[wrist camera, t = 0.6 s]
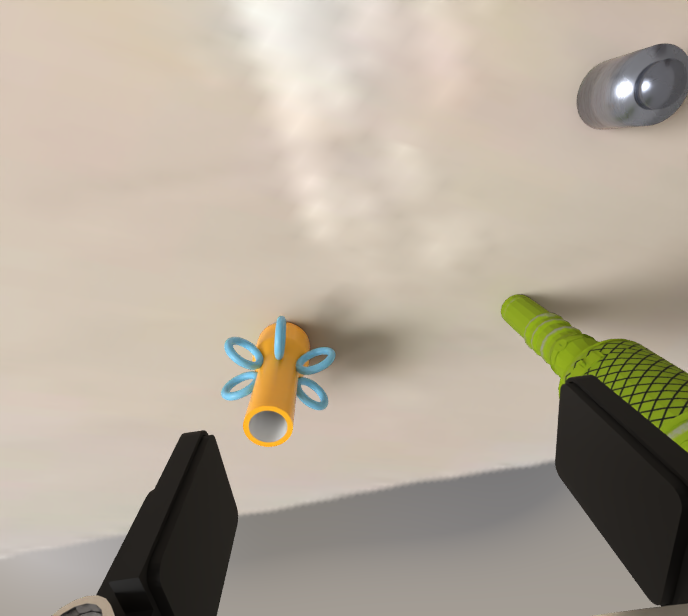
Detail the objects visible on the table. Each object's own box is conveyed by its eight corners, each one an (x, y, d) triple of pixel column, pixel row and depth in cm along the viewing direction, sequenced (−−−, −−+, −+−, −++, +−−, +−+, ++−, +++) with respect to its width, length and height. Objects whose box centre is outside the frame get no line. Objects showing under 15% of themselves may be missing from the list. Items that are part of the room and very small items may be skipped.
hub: (568, 82, 39) (618, 68, 32) (629, 45, 38) (693, 23, 31) (587, 141, 41) (638, 139, 34) (645, 107, 40) (709, 99, 33)
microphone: (562, 302, 47) (801, 452, 23) (515, 350, 49) (693, 532, 25) (514, 262, 45) (723, 382, 21) (467, 313, 47) (612, 475, 23)
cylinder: (353, 339, 47) (367, 418, 33) (302, 401, 50) (294, 499, 36) (264, 279, 44) (237, 339, 30) (214, 349, 47) (168, 434, 33)
